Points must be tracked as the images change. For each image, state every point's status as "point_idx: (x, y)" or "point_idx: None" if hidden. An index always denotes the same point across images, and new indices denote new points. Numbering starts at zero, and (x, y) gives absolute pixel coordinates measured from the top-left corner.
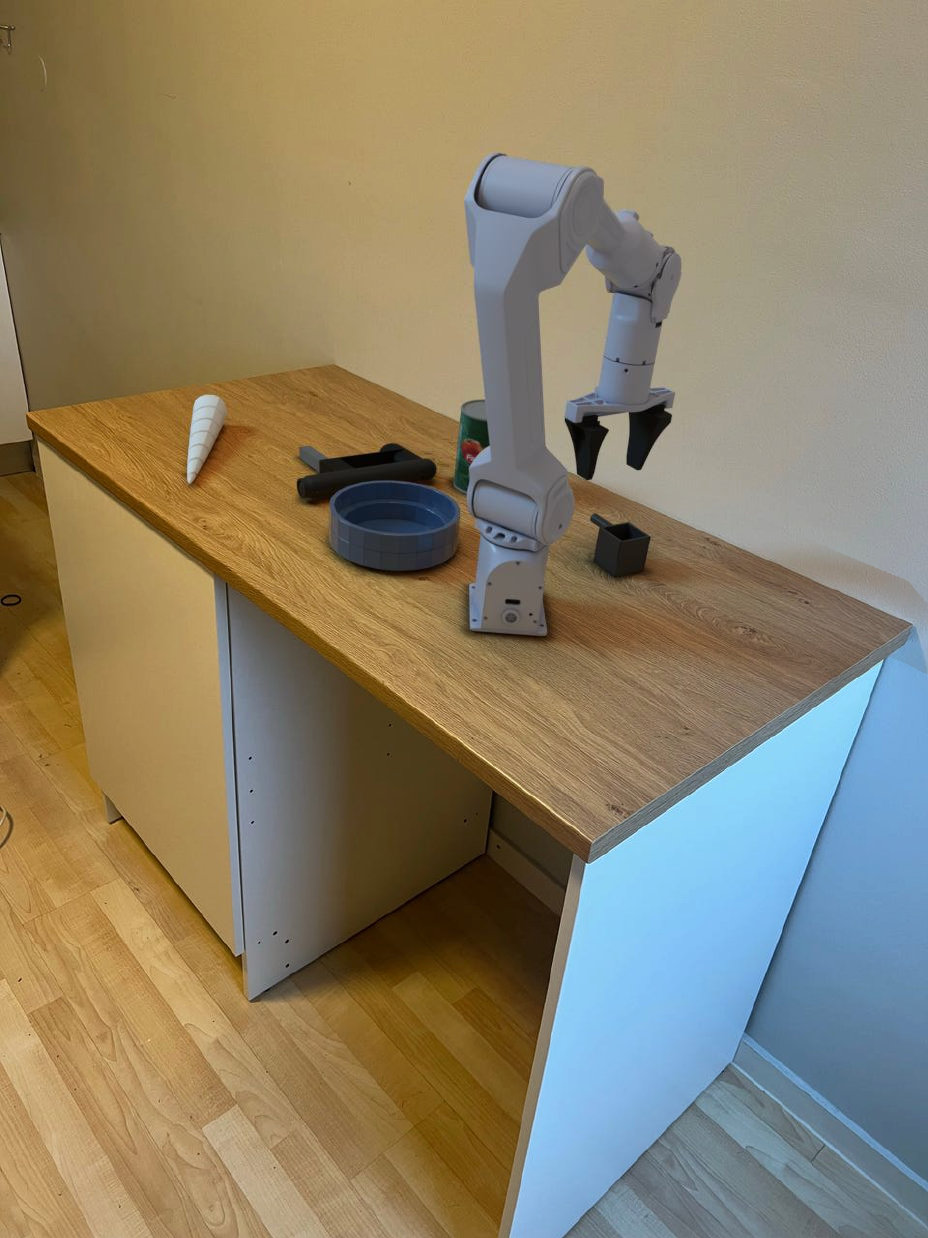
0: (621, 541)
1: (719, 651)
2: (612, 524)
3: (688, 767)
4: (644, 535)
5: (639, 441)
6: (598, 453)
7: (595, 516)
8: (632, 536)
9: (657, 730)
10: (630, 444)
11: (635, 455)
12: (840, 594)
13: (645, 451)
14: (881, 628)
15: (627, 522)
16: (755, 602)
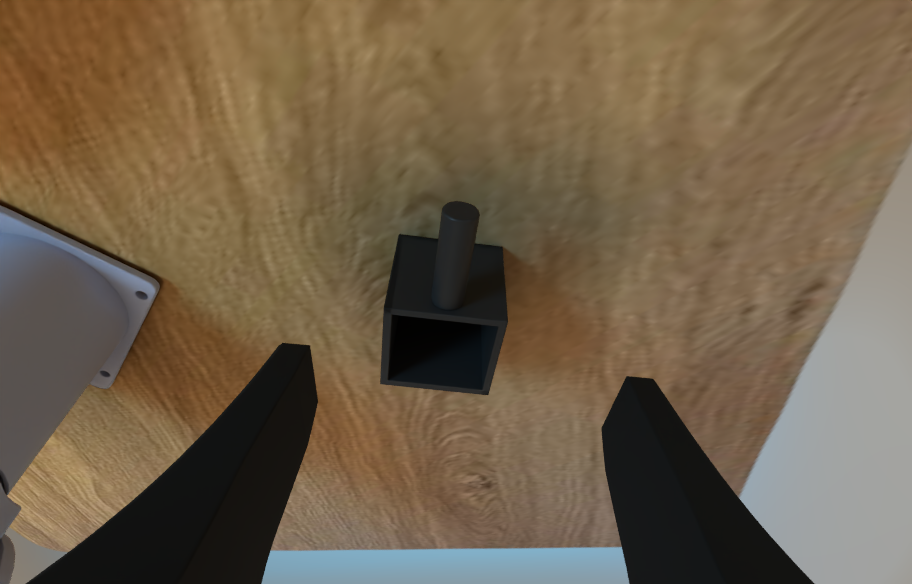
0: (383, 381)
1: (390, 489)
2: (451, 303)
3: None
4: (484, 378)
5: (654, 558)
6: (264, 563)
7: (447, 235)
8: (491, 326)
9: None
10: (662, 480)
11: (627, 469)
12: (738, 492)
13: (624, 545)
14: None
15: (500, 323)
16: (579, 455)
